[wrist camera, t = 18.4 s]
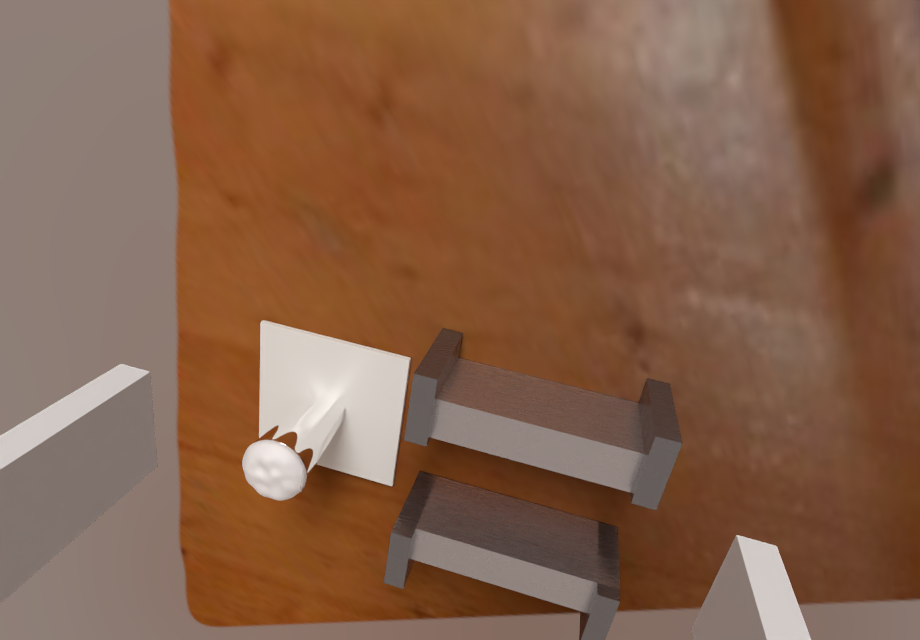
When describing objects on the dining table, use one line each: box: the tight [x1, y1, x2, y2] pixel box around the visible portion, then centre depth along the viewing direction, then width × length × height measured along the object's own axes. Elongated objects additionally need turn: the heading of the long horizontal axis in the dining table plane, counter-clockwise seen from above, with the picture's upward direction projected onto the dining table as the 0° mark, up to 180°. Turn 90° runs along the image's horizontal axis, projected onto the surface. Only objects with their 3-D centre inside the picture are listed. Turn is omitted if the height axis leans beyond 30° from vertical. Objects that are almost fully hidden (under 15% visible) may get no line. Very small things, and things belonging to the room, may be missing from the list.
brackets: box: [384, 328, 682, 640], centre depth 41 cm, size 16×18×7 cm
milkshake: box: [242, 391, 345, 500], centre depth 41 cm, size 4×5×10 cm
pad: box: [259, 320, 411, 486], centre depth 46 cm, size 12×12×1 cm
